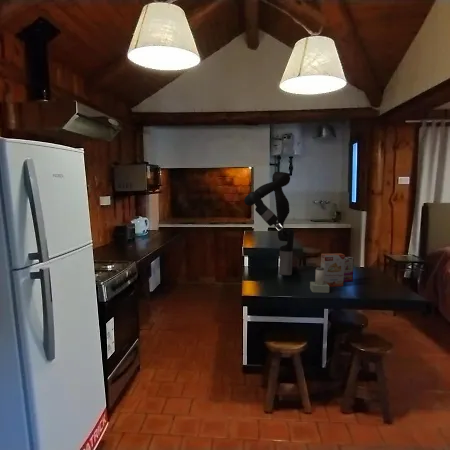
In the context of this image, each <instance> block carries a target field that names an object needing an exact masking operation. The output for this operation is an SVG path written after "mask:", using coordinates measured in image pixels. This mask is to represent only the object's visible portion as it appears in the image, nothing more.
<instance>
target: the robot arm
mask: <svg viewBox="0 0 450 450" xmlns="http://www.w3.org/2000/svg"><path fill="white" fill-rule="evenodd" d="M271 177H272V179H271V182H270V181H269V182H267V183H265V184H262V185H260V186H258V188H256V189H255V190H254V191H251V192H249V193H248V194H247V195H246V196H245V197H244V199H243V200H244V204H245V205H246V206H248V207H251V206H253V205H255V208H254V209H255V212H256V214H258V215H259V216H260V218H262V219H263V220H264V222H265V223H266V224H267V225H268V226H269V227H272V226H273V225H274V228H275V229H276V230H277V238H278V241H280V242H286V244H284V245H280V246H279V263H278V264H279V268H278V269H279V270H278V271H279V272H278V273H279V275H281V276H292V274H293V254H294V253H293V249H294V240H295V239H294V237H295V232H294V229H292V228H284V224H285V221H286V220H287V219H288V216H289V214H290V210H291V209H290V202H289V200H288V198H287V196H286V195H285V193H284V191H283V187H286V186H287V185H288V184H289V183H290V182H291V175H290V174H289V173H288V172H284V171H275V172H273V174H272V176H271ZM273 192H274V196H275V197H274V199H275V210H276V214H275V213H274V212H273V210H271V209H270V208H269V207H268V206H267V205H266V204H265V203H264V201H263V198H265V197H266V196H267V195H270V194H271V193H273Z"/></svg>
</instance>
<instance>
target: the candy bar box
mask: <svg viewBox="0 0 450 450" xmlns="http://www.w3.org/2000/svg"><path fill="white" fill-rule="evenodd" d="M354 260H355V257H353V256H345V264H344V280H343V283H348V282H349V283H350V282H353V281H354Z"/></svg>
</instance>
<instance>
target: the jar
mask: <svg viewBox="0 0 450 450" xmlns="http://www.w3.org/2000/svg"><path fill="white" fill-rule="evenodd" d="M314 275H315V277H314V278H315V279H314V282H315V284H316V285H324V268H322V267H321V266H320V267H319V266H317V267H316V268H315V274H314Z"/></svg>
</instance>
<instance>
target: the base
mask: <svg viewBox="0 0 450 450" xmlns="http://www.w3.org/2000/svg"><path fill="white" fill-rule="evenodd" d="M309 289H310V291H311V292H312V293H325V294H326V293H327V294H328V293H330V287H329V285H328V284H327V283H326V282H324V285H316V284H315V281H309Z"/></svg>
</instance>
